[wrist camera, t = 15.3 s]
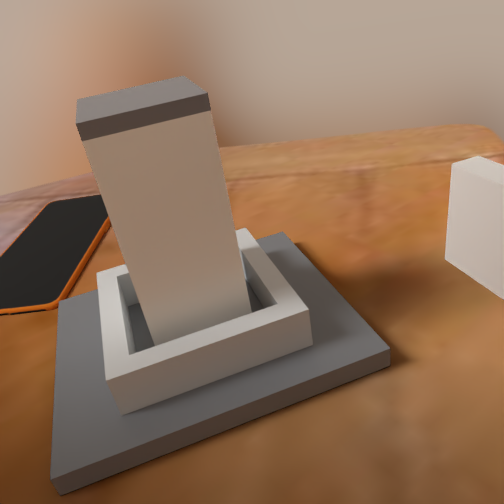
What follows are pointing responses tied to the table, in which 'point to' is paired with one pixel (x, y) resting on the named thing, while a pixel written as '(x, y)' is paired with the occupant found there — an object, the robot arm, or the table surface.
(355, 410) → the table surface
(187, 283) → the block
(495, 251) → the robot arm
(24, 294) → the smartphone
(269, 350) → the dock
